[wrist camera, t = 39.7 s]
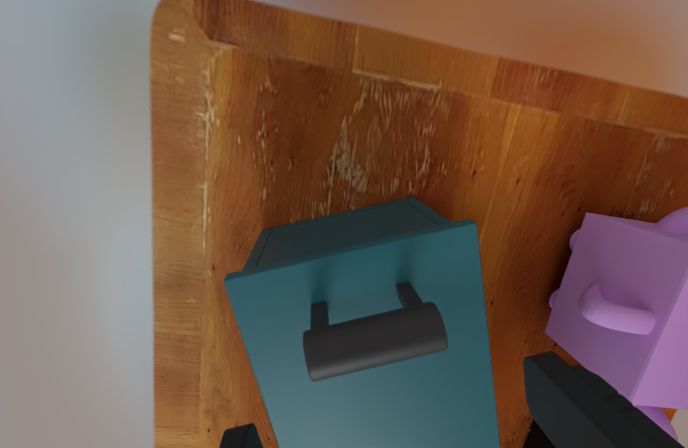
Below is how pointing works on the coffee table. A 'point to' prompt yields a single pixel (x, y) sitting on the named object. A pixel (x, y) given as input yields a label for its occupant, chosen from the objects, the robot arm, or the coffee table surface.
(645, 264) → the teapot
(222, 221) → the coffee table surface
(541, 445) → the tissue box
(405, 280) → the case lid
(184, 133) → the coffee table surface
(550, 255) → the coffee table surface
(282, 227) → the wipes case
